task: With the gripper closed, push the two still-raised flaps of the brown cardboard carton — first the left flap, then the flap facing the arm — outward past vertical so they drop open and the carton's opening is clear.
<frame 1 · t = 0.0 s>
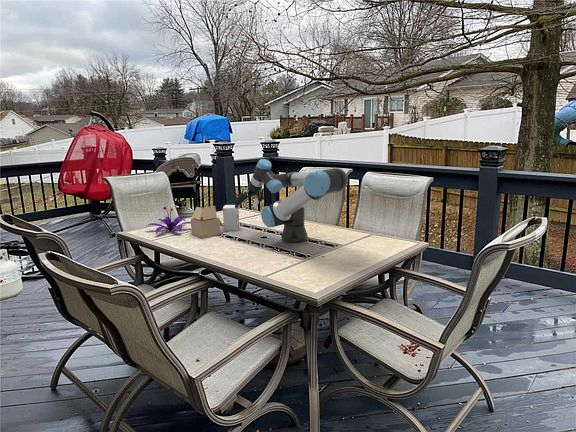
hand: (245, 209, 252), 15 cm above the table, tool tilted 35°, fingers open, 13 cm apart
flap left: (198, 213, 251), point 14 cm above the table, hinge at 30.1°
carton: (206, 234, 257), on the table
supplement box: (231, 229, 268), on the table
flap near: (209, 212, 250), point 14 cm above the table, hinge at 12.5°
decorative flower: (171, 230, 268), on the table
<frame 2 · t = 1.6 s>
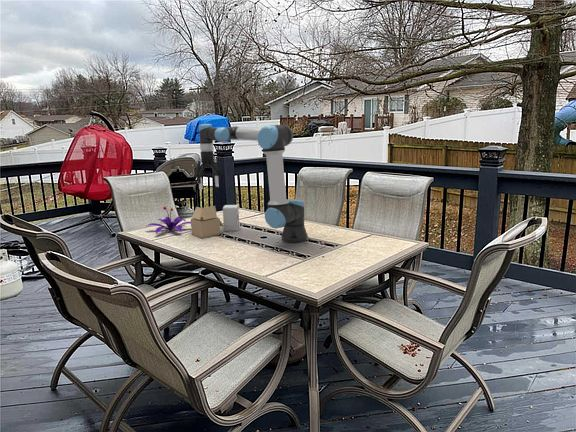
hand: (209, 187, 255), 28 cm above the table, tool pointing down, fingers open, 10 cm apart
nothing on the table moved.
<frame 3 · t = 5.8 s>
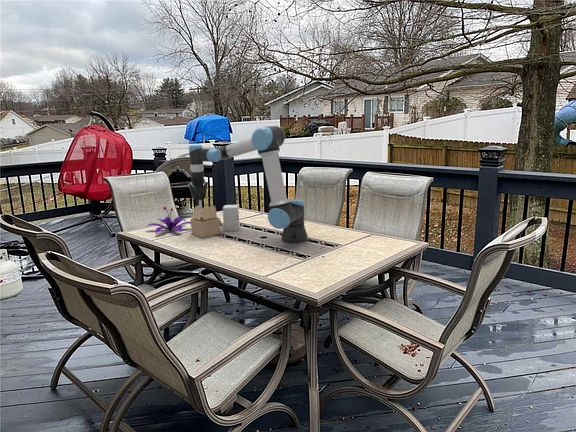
hand: (199, 210, 253), 15 cm above the table, tool pointing down, fingers closed
flap left: (197, 213, 251), point 14 cm above the table, hinge at 24.6°, touching gripper
flap near: (209, 212, 249), point 14 cm above the table, hinge at 12.1°
everything else where it was.
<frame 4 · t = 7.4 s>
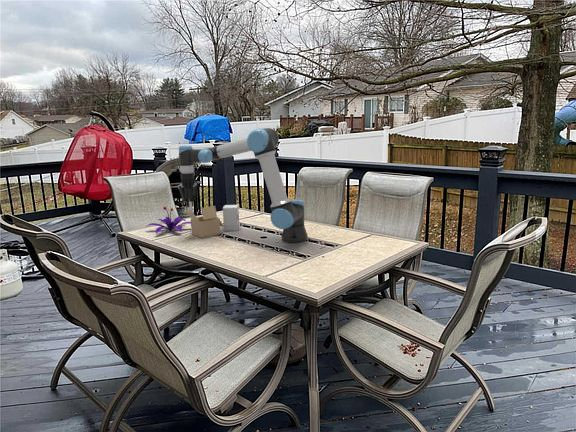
hand: (190, 212, 249), 15 cm above the table, tool pointing down, fingers closed
flap left: (191, 215, 248), point 14 cm above the table, hinge at -39.7°
flap near: (209, 212, 249), point 14 cm above the table, hinge at 11.4°
everything else where it was.
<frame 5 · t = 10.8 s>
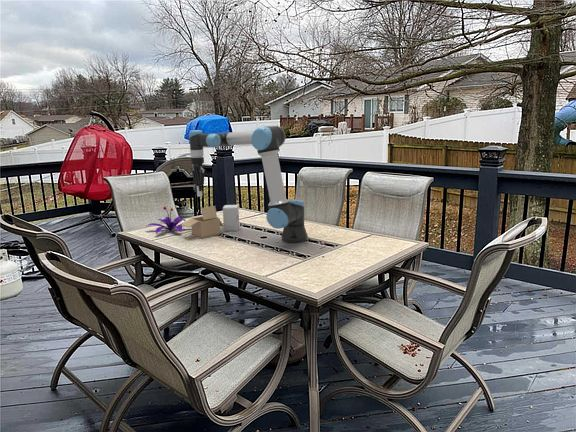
hand: (199, 196, 254), 23 cm above the table, tool pointing down, fingers closed
flap left: (190, 222, 248), point 9 cm above the table, hinge at -110.3°
everything else where it was.
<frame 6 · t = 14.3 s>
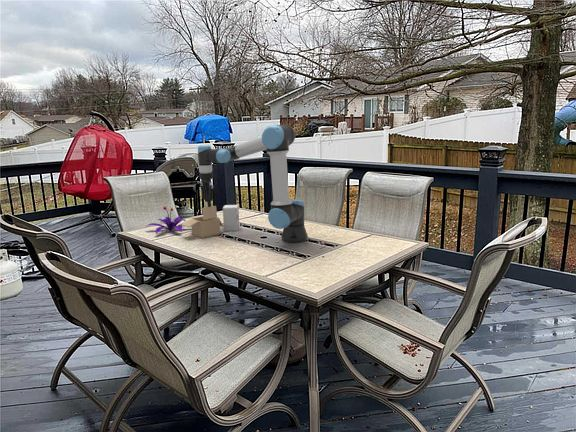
hand: (208, 211, 250), 15 cm above the table, tool pointing down, fingers closed
flap near: (209, 212, 249), point 14 cm above the table, hinge at 3.9°, touching gripper
everything else where it was.
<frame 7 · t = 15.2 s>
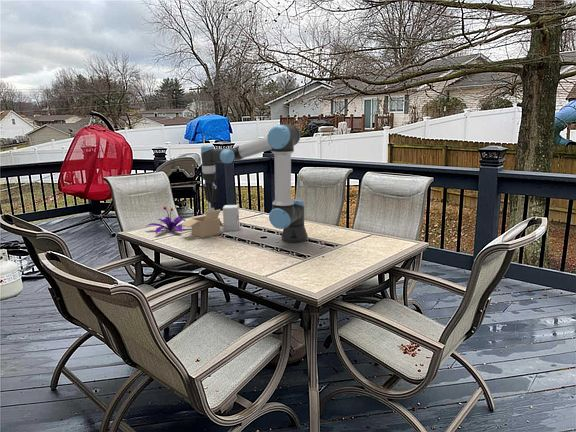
hand: (211, 212, 247), 15 cm above the table, tool pointing down, fingers closed
flap near: (212, 214, 247), point 14 cm above the table, hinge at -38.1°, touching gripper
everything else where it was.
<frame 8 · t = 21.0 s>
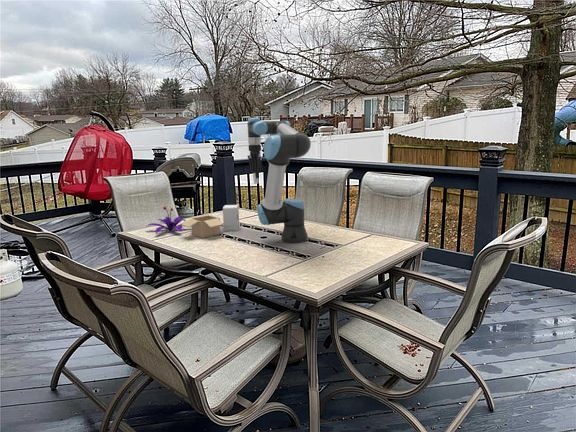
hand: (256, 183, 258), 29 cm above the table, tool pointing down, fingers closed
flap near: (213, 222, 247), point 9 cm above the table, hinge at -110.3°
everything else where it was.
at the end: flap left at -110° (first picture: +30°); flap near at -110° (first picture: +12°) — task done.
